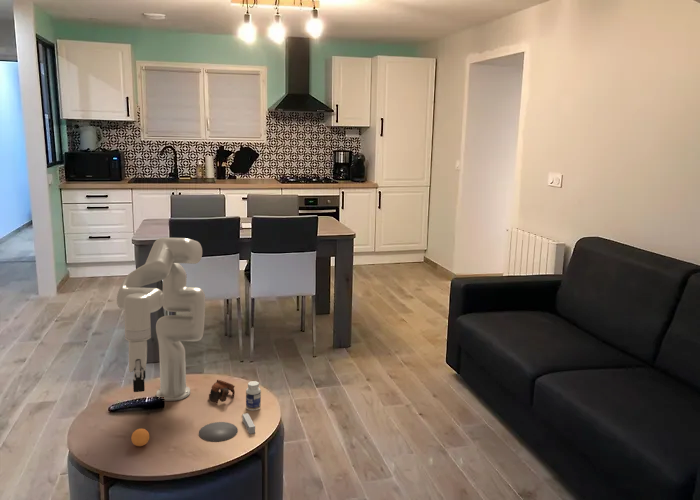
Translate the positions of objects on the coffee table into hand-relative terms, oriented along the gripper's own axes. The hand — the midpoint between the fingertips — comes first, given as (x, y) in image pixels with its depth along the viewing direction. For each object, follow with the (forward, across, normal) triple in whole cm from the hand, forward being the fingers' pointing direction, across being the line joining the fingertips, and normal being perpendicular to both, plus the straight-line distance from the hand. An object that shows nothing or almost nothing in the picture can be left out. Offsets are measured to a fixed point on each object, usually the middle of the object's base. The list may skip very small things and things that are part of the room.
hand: (139, 385), depth 182 cm
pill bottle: (+21, -18, +39) cm, 48 cm away
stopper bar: (+21, -5, +35) cm, 41 cm away
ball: (+18, -1, 0) cm, 18 cm away
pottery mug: (+21, -28, +28) cm, 45 cm away
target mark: (+21, -4, +25) cm, 32 cm away
